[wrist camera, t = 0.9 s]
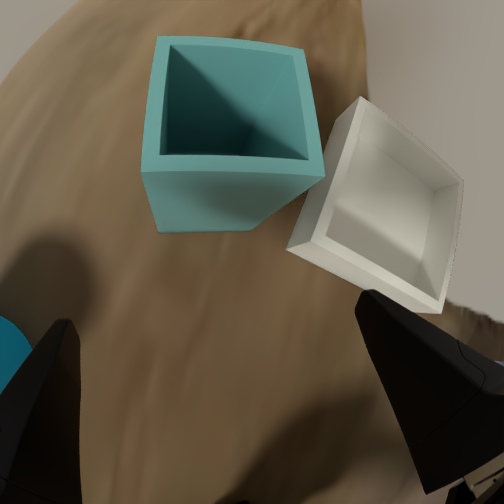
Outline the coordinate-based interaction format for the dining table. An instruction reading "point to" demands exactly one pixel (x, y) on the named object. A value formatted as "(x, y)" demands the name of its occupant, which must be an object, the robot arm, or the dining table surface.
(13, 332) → the mug
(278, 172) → the teal crate
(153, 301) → the dining table surface
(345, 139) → the white crate
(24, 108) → the dining table surface
